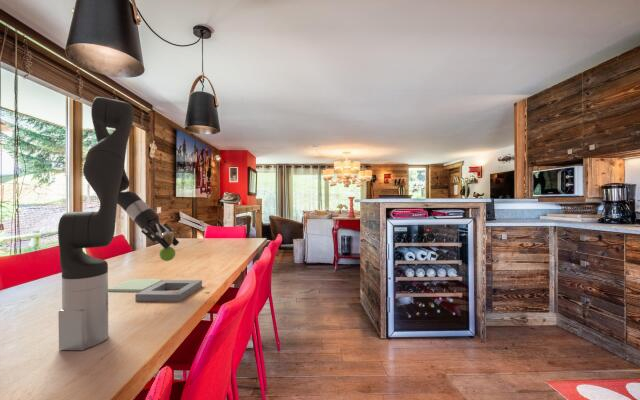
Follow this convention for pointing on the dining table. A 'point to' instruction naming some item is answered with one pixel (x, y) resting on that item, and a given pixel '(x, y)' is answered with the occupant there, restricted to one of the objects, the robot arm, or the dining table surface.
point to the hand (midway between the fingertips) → (172, 245)
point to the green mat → (134, 285)
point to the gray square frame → (169, 296)
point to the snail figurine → (169, 252)
